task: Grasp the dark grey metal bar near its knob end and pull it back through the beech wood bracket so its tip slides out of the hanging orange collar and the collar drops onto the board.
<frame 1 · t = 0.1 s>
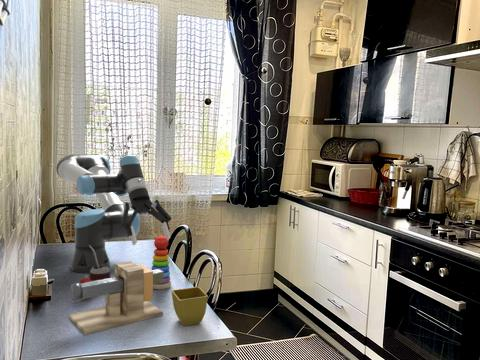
hand: (152, 241, 167), 15 cm above the table, tool tilted 35°, fingers open, 13 cm apart
mate gourd: (98, 289, 159), on the table
onion: (85, 299, 149), on the table
stacking toy: (160, 287, 163), on the table
flower pot: (189, 322, 133), on the table
stand: (129, 313, 139), on the table
shaft: (119, 283, 136), point 10 cm above the table, slide at 0.0 cm, touching collar
collar: (141, 282, 140), point 9 cm above the table, touching shaft
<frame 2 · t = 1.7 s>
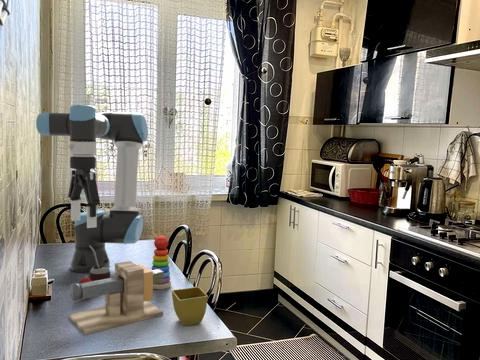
hand: (83, 223, 139), 27 cm above the table, tool pointing down, fingers open, 13 cm apart
nothing on the table moved.
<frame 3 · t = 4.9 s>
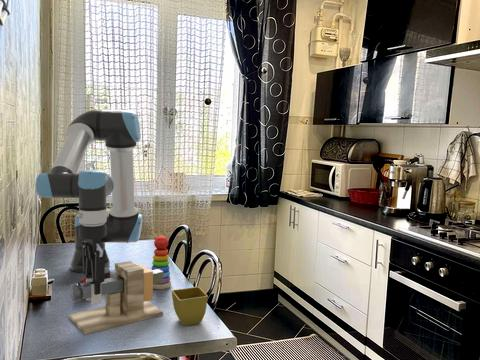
hand: (93, 301, 131), 6 cm above the table, tool pointing down, fingers closed on shaft, 3 cm apart
shaft: (119, 283, 136), point 10 cm above the table, slide at 0.0 cm, touching collar, gripper
everything else where it was.
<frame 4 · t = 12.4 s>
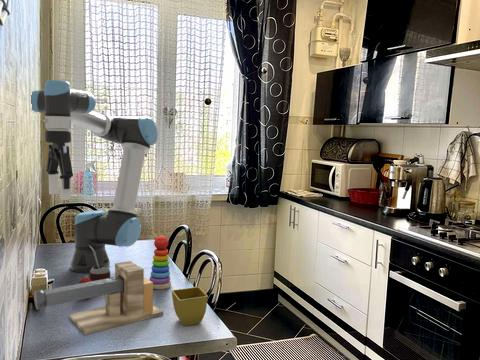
hand: (59, 196, 144), 35 cm above the table, tool pointing down, fingers open, 13 cm apart
shaft: (87, 290, 130), point 10 cm above the table, slide at 9.7 cm
collar: (142, 293, 141), point 5 cm above the table, touching stand
everything else where it was.
at the end: shaft slide at 9.7 cm; collar point 5.5 cm above the table; collar inside the target area (0.7 cm from its centre), point 5.5 cm above the table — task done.
